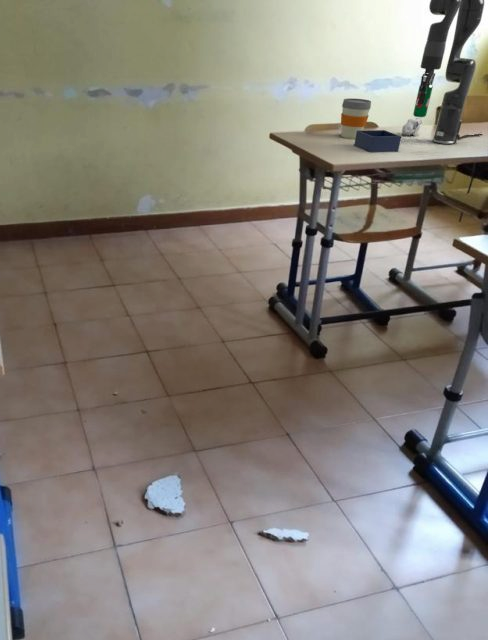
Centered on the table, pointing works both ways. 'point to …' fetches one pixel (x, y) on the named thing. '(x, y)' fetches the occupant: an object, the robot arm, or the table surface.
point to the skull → (411, 126)
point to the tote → (377, 141)
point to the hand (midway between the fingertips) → (422, 102)
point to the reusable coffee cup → (354, 116)
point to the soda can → (421, 109)
